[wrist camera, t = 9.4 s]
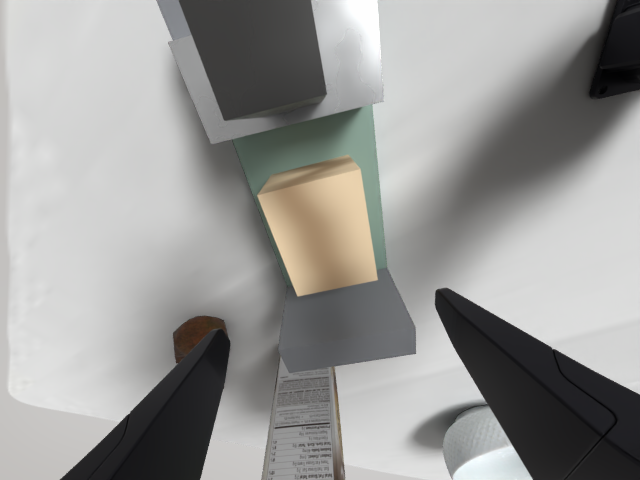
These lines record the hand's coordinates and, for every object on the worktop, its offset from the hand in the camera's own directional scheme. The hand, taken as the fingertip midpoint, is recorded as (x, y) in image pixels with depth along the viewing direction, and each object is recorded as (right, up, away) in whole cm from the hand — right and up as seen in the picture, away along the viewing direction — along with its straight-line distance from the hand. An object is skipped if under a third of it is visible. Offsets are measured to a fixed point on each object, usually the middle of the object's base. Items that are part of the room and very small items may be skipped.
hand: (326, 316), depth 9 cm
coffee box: (-2, -13, +22) cm, 25 cm away
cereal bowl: (+28, -28, +31) cm, 50 cm away
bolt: (-15, -12, +21) cm, 29 cm away
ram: (-2, +13, +5) cm, 14 cm away
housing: (0, +5, +10) cm, 11 cm away
